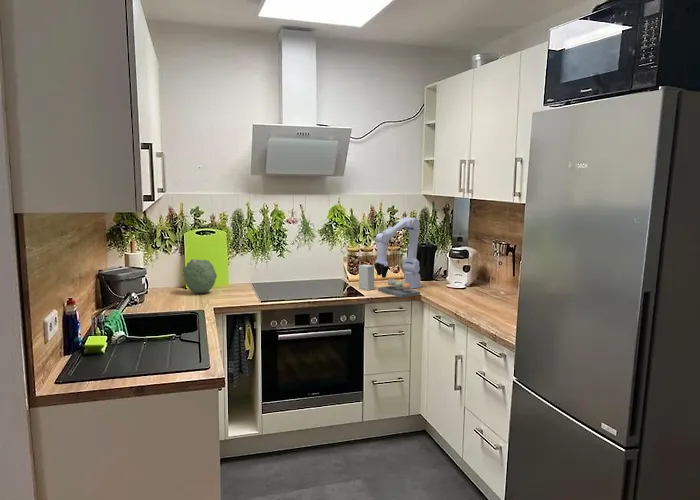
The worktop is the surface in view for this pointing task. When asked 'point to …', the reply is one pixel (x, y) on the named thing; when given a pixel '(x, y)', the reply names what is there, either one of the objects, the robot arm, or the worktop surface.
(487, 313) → the worktop surface
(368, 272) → the skincare box
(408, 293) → the panel
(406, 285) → the button terracotta
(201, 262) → the cabbage
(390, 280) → the button cream
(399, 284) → the button sage
